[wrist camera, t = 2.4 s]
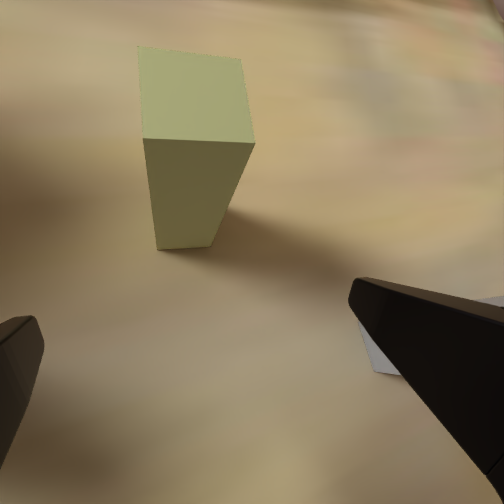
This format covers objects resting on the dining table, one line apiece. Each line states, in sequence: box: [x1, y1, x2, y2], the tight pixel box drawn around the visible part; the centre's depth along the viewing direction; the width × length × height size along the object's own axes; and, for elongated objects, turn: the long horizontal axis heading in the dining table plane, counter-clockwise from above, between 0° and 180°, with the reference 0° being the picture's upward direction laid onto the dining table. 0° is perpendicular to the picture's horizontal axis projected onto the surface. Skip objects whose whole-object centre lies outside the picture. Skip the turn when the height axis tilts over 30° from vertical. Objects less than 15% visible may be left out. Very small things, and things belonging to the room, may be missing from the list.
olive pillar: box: [137, 46, 255, 250], centre depth 17 cm, size 4×4×13 cm
